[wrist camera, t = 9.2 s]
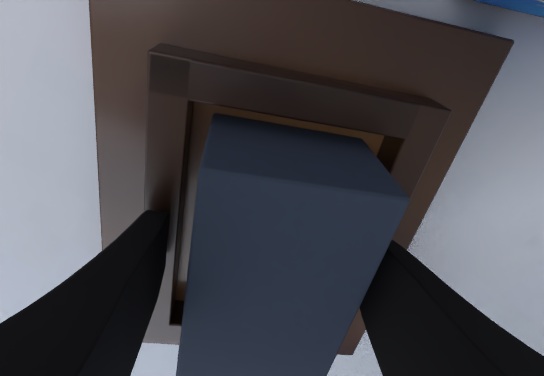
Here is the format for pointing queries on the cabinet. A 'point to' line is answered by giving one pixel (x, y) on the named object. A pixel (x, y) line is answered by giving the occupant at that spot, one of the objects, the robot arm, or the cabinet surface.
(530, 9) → the ink box
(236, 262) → the dark blue block
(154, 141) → the brown wooden tray
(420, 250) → the cabinet surface
